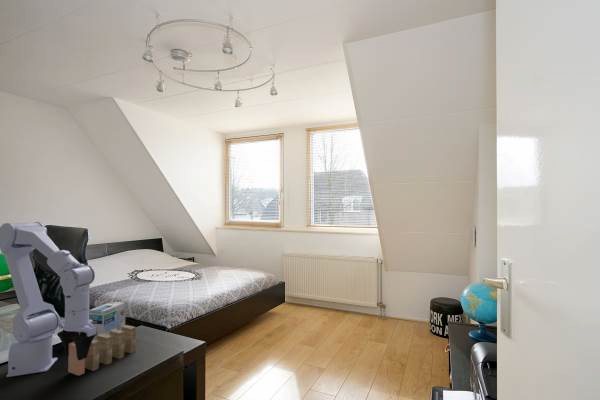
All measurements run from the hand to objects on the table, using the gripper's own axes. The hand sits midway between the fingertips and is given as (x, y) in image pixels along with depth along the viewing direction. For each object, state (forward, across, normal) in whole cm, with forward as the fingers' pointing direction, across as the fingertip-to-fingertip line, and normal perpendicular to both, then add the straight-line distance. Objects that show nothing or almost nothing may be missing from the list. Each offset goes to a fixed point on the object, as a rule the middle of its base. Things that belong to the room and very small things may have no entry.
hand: (76, 356), depth 89 cm
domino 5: (+5, 0, -16) cm, 17 cm away
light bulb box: (+5, +20, -22) cm, 30 cm away
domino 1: (+4, 0, 0) cm, 4 cm away
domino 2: (+5, 0, -4) cm, 6 cm away
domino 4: (+5, 0, -12) cm, 13 cm away
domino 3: (+5, 0, -8) cm, 9 cm away
